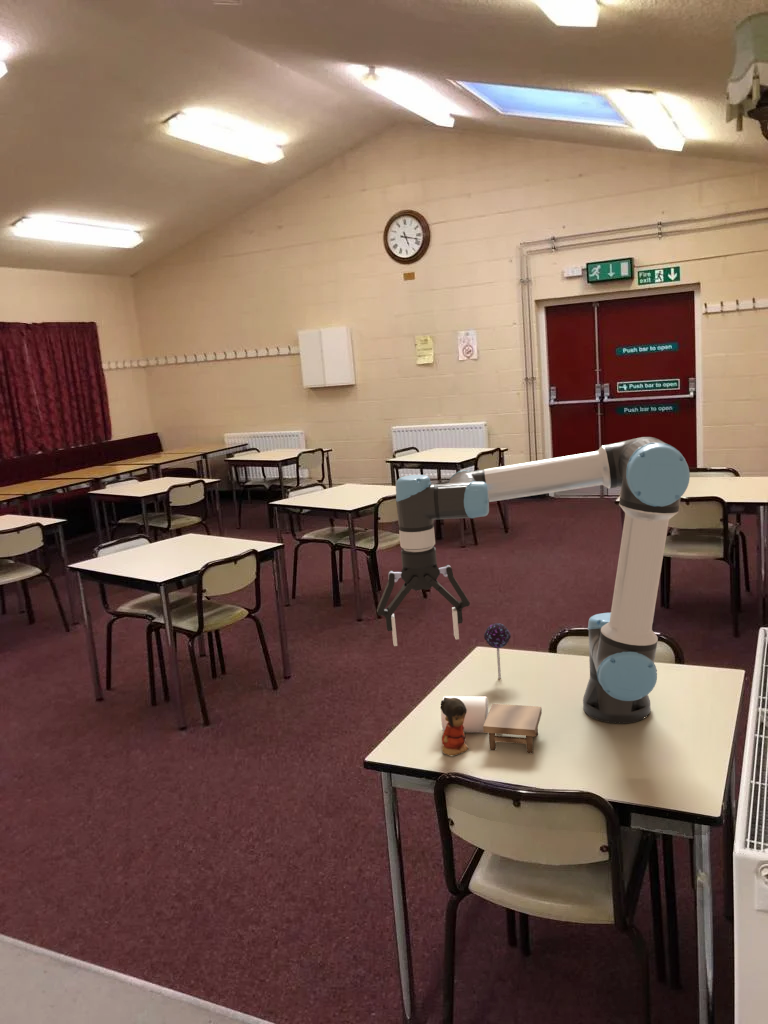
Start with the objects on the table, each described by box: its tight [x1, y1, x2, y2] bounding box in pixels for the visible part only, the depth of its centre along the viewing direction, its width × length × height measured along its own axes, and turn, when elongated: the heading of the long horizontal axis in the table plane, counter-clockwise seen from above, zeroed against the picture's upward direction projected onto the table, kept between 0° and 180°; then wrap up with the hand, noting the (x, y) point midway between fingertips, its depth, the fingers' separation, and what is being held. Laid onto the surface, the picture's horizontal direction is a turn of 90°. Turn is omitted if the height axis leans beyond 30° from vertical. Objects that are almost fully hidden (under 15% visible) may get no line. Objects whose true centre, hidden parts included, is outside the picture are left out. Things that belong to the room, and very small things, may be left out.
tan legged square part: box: [483, 703, 542, 755], centre depth 174 cm, size 11×11×6 cm
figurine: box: [440, 698, 470, 757], centre depth 172 cm, size 6×6×12 cm
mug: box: [440, 695, 489, 734], centre depth 183 cm, size 12×10×8 cm
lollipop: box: [483, 622, 512, 679], centre depth 207 cm, size 7×7×15 cm
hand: (425, 640), depth 174 cm, fingers open, 13 cm apart
